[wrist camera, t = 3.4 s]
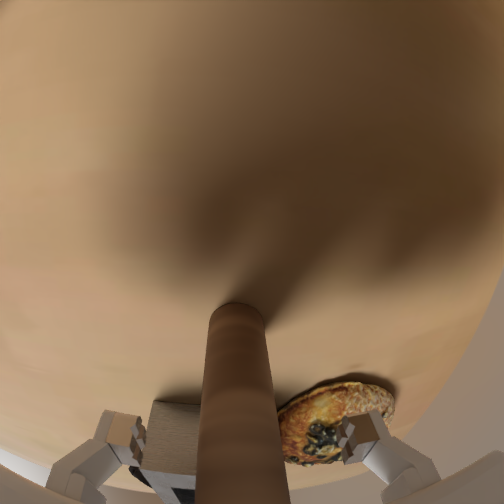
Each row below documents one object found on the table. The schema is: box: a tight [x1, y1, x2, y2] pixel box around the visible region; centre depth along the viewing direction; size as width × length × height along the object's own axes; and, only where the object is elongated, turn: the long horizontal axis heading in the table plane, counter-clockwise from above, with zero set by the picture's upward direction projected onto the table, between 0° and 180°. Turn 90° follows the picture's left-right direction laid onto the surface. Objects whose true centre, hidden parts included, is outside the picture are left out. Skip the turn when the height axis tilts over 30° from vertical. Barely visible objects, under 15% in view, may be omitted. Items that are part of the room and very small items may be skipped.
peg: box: [194, 303, 291, 504], centre depth 10 cm, size 3×3×12 cm
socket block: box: [139, 401, 201, 504], centre depth 18 cm, size 11×8×6 cm
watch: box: [129, 466, 152, 488], centre depth 22 cm, size 8×5×4 cm, turn 8°
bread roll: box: [277, 382, 395, 467], centre depth 19 cm, size 11×11×5 cm
